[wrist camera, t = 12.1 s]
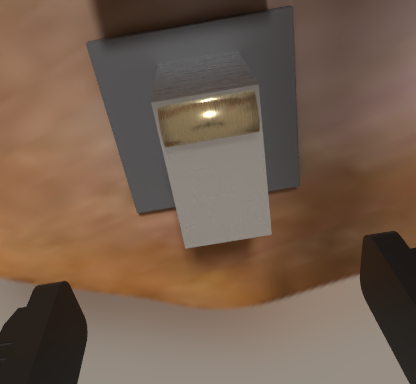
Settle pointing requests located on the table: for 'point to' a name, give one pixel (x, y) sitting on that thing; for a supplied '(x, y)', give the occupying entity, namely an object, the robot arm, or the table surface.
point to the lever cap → (213, 147)
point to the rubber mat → (189, 48)
